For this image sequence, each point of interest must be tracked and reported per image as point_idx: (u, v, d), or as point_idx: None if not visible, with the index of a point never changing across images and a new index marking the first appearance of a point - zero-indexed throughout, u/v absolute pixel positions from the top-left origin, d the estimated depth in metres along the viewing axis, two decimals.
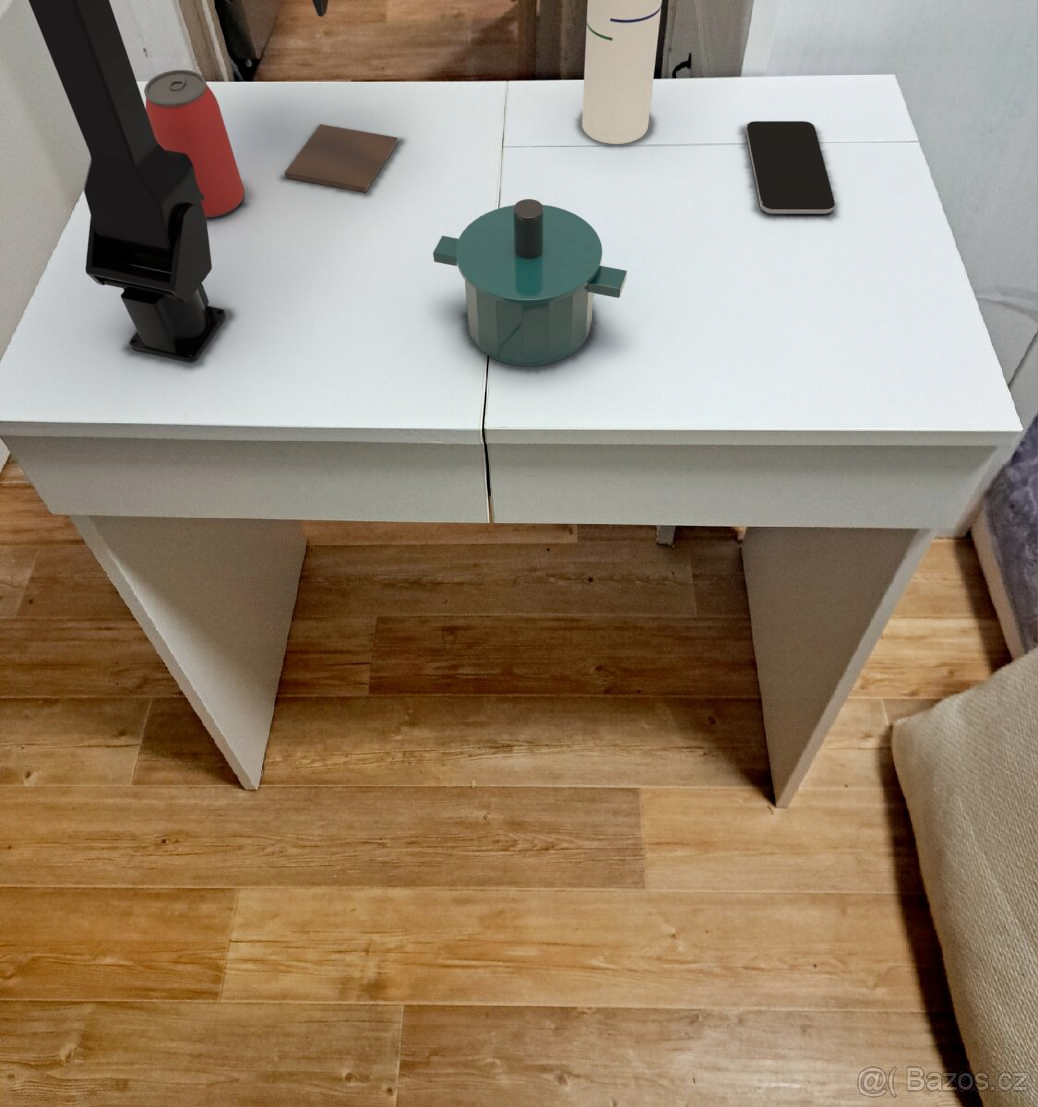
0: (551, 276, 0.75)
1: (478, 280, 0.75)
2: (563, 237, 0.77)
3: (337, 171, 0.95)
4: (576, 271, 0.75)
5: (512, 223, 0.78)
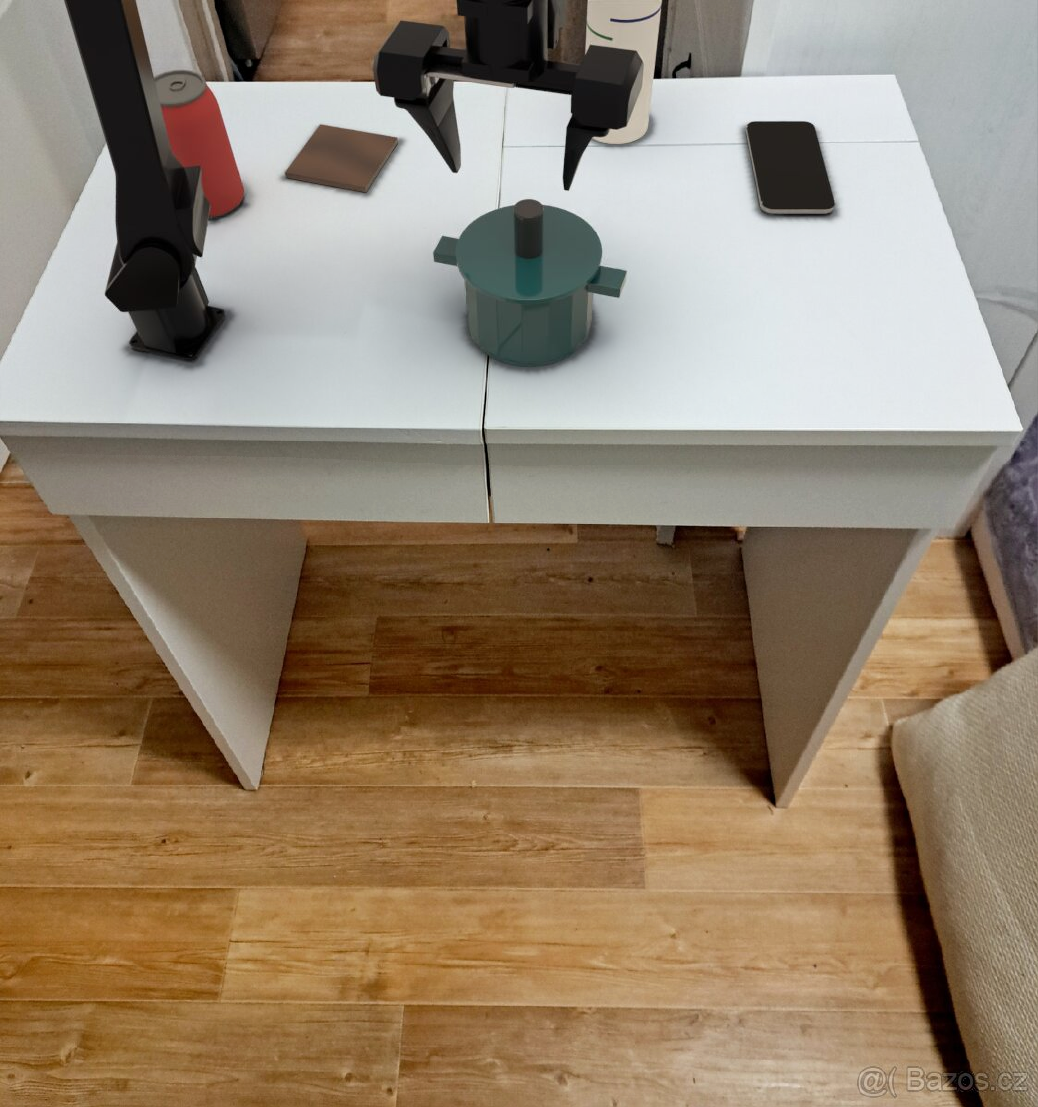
0: (551, 276, 0.75)
1: (478, 280, 0.75)
2: (563, 237, 0.77)
3: (337, 171, 0.95)
4: (576, 271, 0.75)
5: (512, 223, 0.78)
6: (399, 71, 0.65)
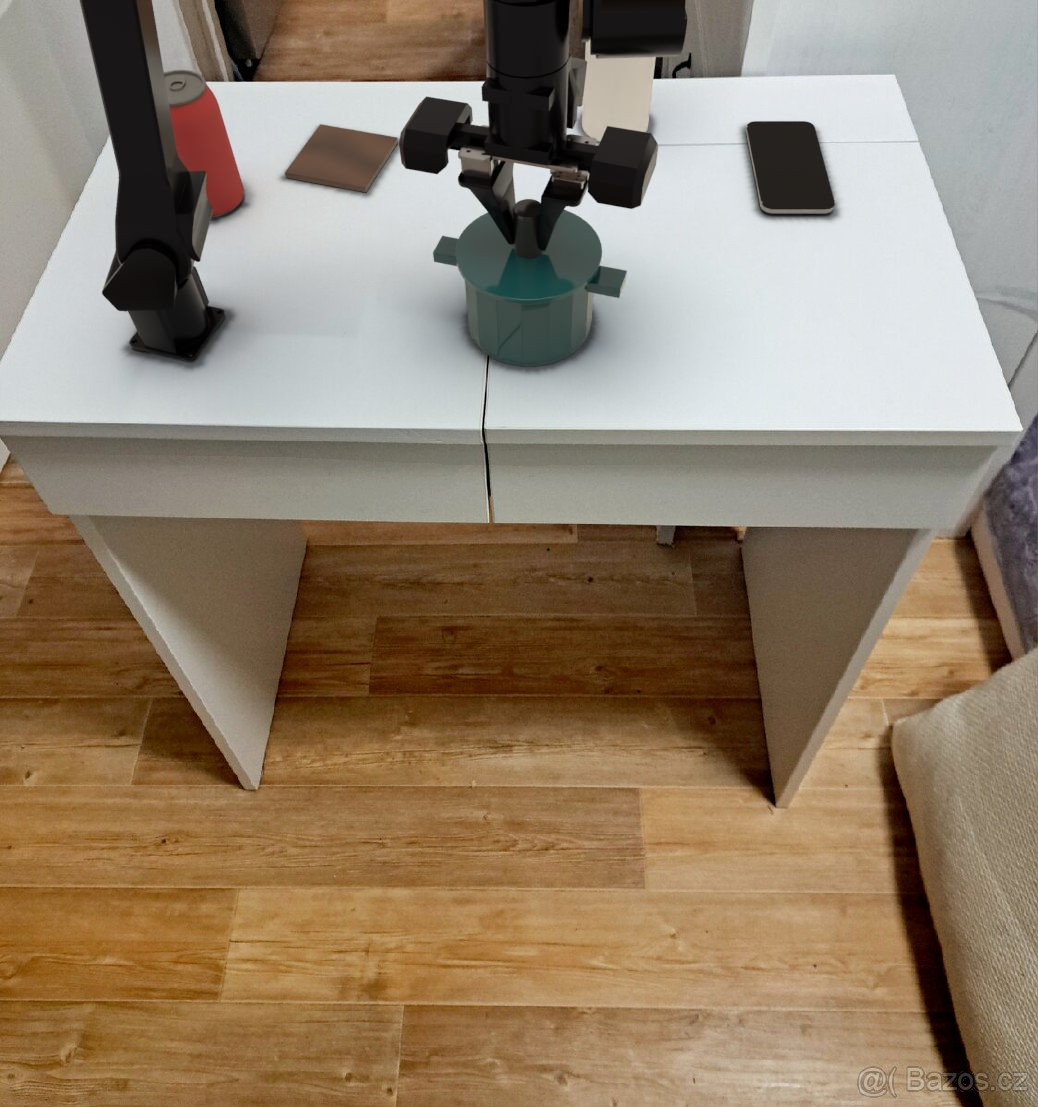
0: (551, 276, 0.75)
1: (478, 280, 0.75)
2: (563, 237, 0.77)
3: (337, 171, 0.95)
4: (576, 271, 0.75)
5: None
6: (424, 147, 0.68)
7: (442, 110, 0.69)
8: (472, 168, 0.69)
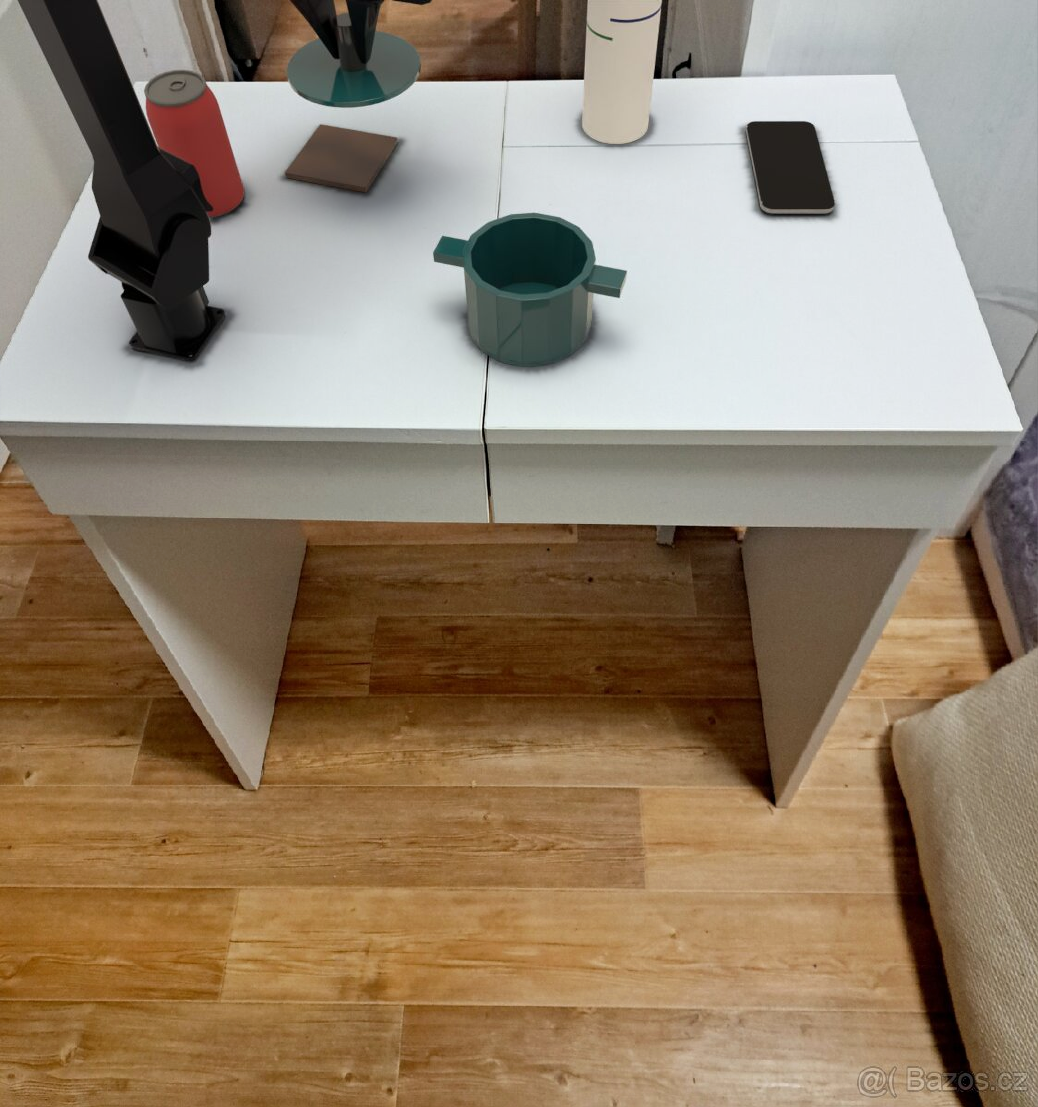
0: (369, 85, 0.82)
1: (303, 87, 0.82)
2: (387, 55, 0.85)
3: (337, 171, 0.95)
4: (393, 81, 0.83)
5: None
6: None
7: None
8: None
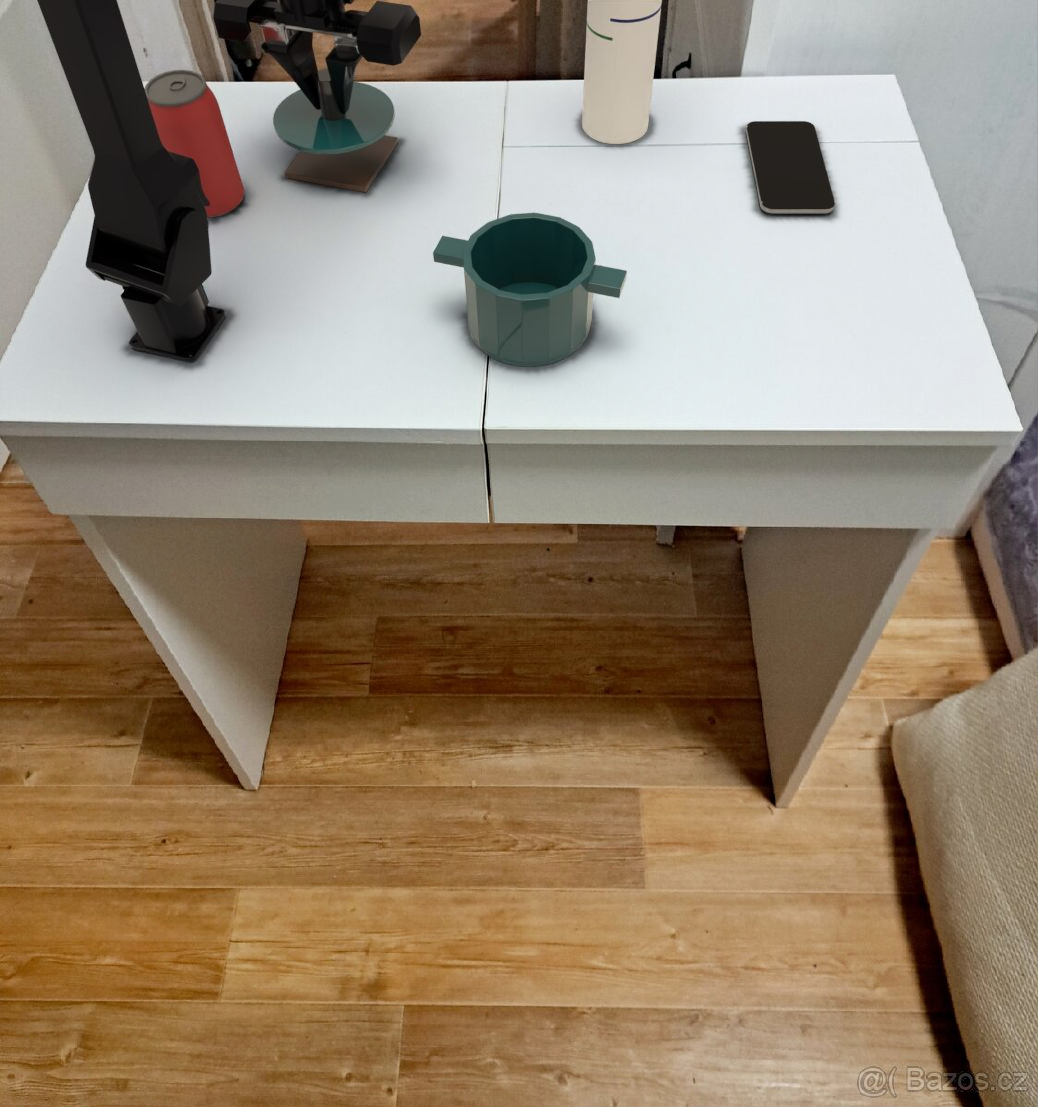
0: (348, 133, 0.91)
1: (288, 136, 0.91)
2: (363, 105, 0.94)
3: (337, 171, 0.95)
4: (369, 129, 0.91)
5: None
6: (230, 18, 0.84)
7: None
8: (271, 37, 0.86)
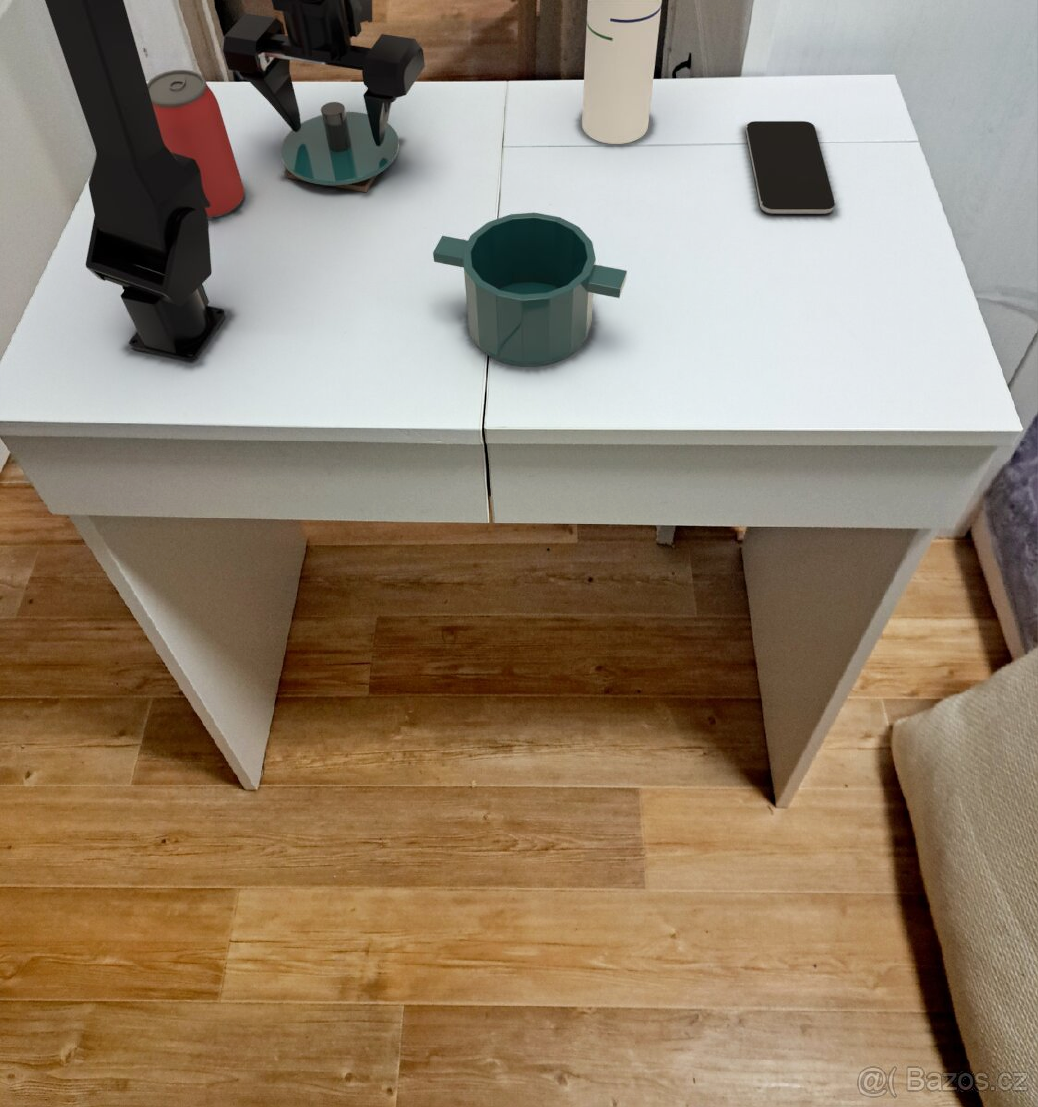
0: (354, 164, 0.94)
1: (295, 167, 0.94)
2: (369, 136, 0.96)
3: None
4: (374, 160, 0.94)
5: None
6: (239, 51, 0.87)
7: (255, 23, 0.88)
8: None
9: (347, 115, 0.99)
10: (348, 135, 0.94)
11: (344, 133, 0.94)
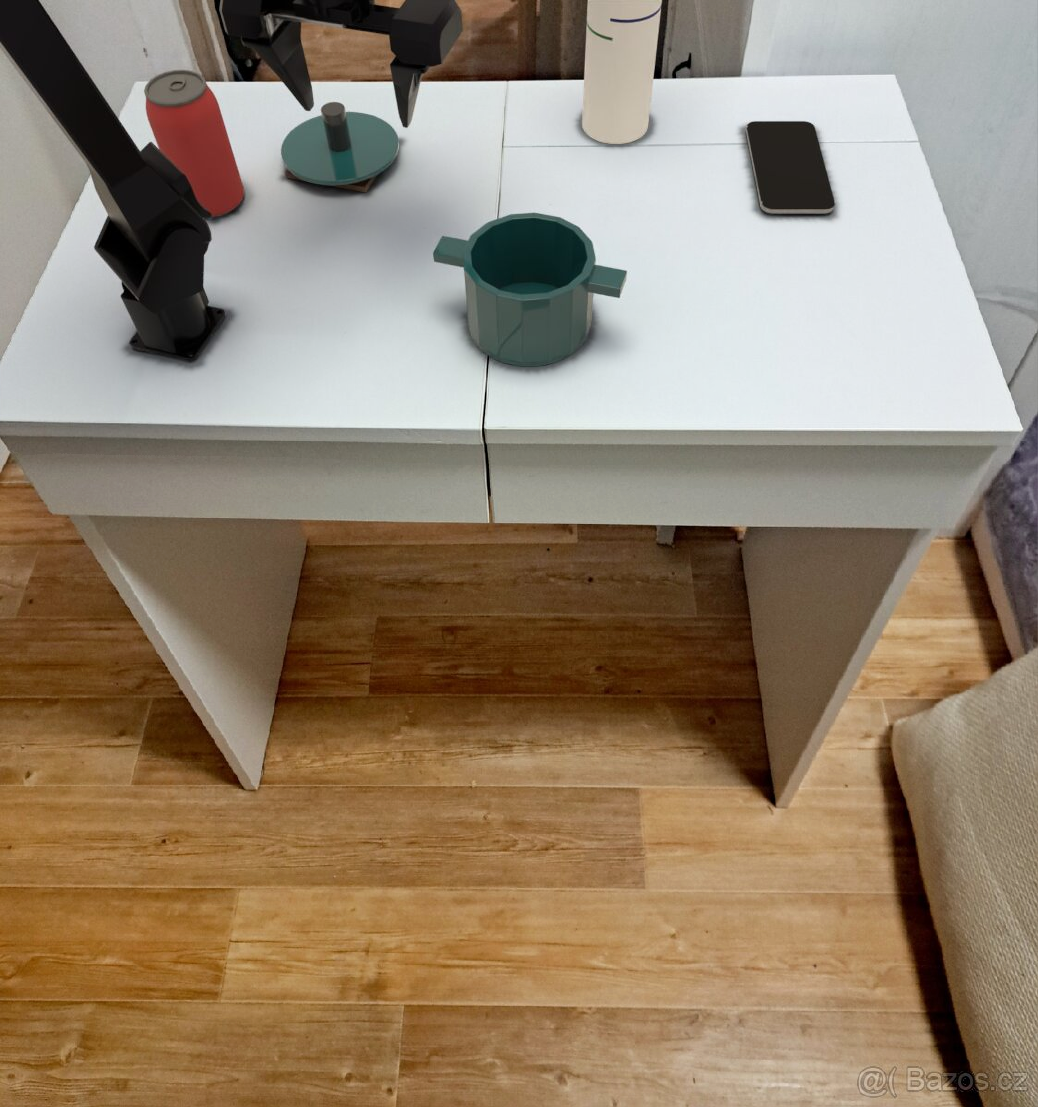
0: (354, 164, 0.94)
1: (295, 167, 0.94)
2: (369, 136, 0.96)
3: None
4: (374, 160, 0.94)
5: None
6: (241, 11, 0.72)
7: None
8: None
9: (347, 115, 0.99)
10: (348, 135, 0.94)
11: (344, 133, 0.94)
